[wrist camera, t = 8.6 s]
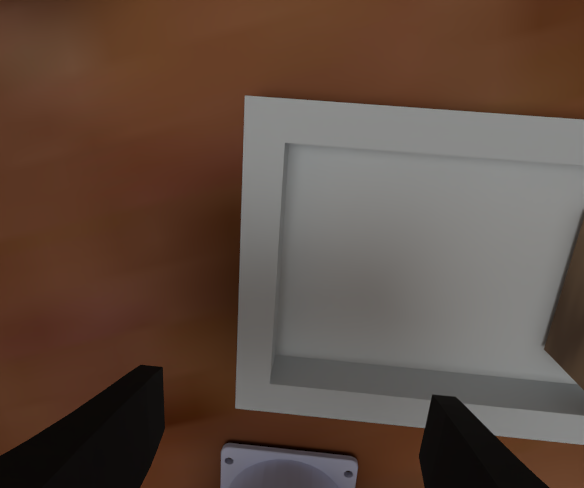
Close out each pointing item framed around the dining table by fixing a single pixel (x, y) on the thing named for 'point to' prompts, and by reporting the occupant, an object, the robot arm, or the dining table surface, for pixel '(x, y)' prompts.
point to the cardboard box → (570, 319)
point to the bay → (407, 263)
